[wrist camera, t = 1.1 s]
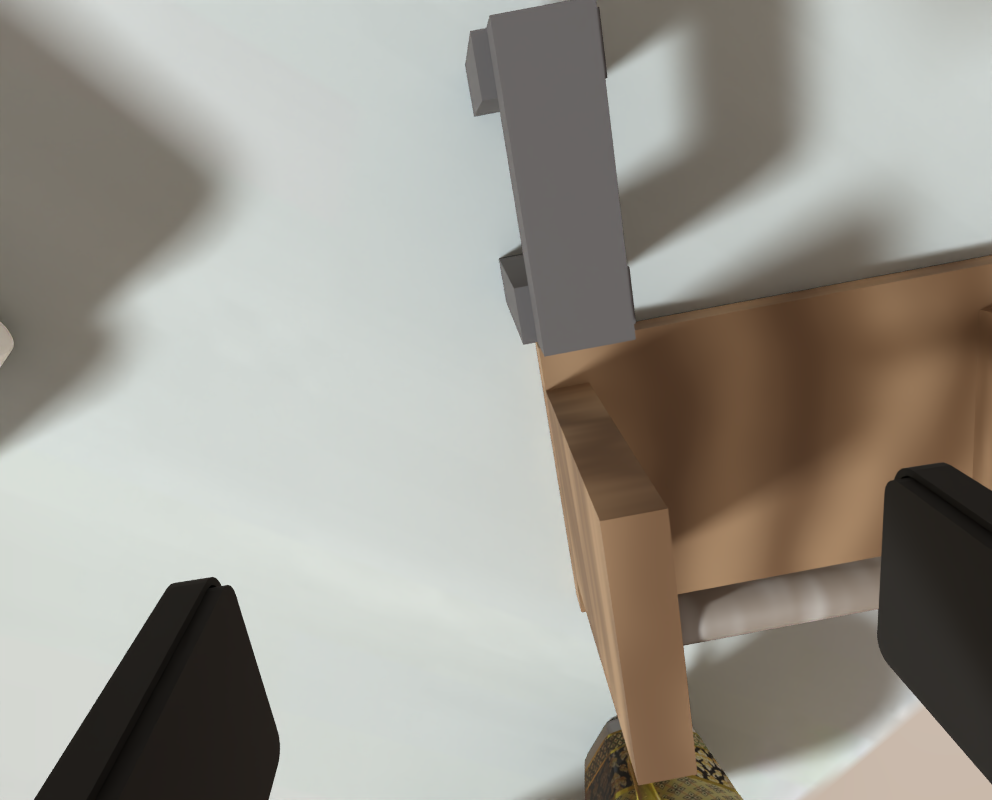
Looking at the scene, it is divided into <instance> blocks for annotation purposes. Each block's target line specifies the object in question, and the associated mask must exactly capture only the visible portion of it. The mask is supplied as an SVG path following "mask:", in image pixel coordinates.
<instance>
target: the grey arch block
mask: <svg viewBox="0 0 992 800" xmlns="http://www.w3.org/2000/svg"><path fill="white" fill-rule="evenodd" d="M465 67H466V72H467V78H468V84H469V90H470V95H471V101H472V107H473V113H474V116H480V115H485V114H490V113H496V112H500V115H501V121H502V127H503V133H504V139H505V146H506V152H507V158H508V164H509V170H510V176H511V182H512V189H513V195H514V201H515V207H516V213H517V219H518V225H519V232H520V238H521V244H522V250H523V254H521V255H516V256H511V257H505V258H500V259H499V262H500V268H501V274H502V279H503V285H504V291H505V297H506V302H507V305H508V307H509V310H510V312H511V315H512V317H513V320H514V322H515V325H516V327H517V330H518V332H519V335H520V337H521V340H522V342H523V345H524V344H530V343H535V342H538V344H539V346H540V348H541V350H542V352H543V354H544V357H546V356H551V355H556V354H562V353H567V352H572V351H578V350H583V349H588V348H594V347H599V346H604V345H610V344H615V343H620V342H626V341H631V340H636V337H635V328H634V324H636V320H635V312H634V303H633V295H632V286H631V277H630V269H629V266H627V260H626V251H625V243H624V234H623V226H622V217H621V209H620V200H619V192H618V183H617V174H616V166H615V157H614V149H613V140H612V132H611V123H610V115H609V106H608V98H607V89H606V80H605V79H606V78H607V71H606V62H605V53H604V45H603V36H602V27H601V19H600V10H599V7H597V3H596V0H570V1H564V2H559V3H554V4H548V5H543V6H538V7H532V8H527V9H521V10H516V11H511V12H505V13H500V14H495V15H490V16H489V20H488V24H487V28H485V29H479V30H474V31H470V36H469V43H468V50H467V56H466V63H465Z"/></svg>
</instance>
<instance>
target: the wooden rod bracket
mask: <svg viewBox="0 0 992 800" xmlns="http://www.w3.org/2000/svg"><path fill="white" fill-rule="evenodd" d="M634 328H635V337H636V340H631V341H626V342H620V343H615V344H610V345H604V346H599V347H594V348H588V349H583V350H578V351H572V352H567V353H562V354H556V355H551V356H546V357H544V354H543V352H542V350H541V348H540V346H539V344H538V342H535V343H536V350H537V356H538V362H539V368H540V374H541V380H542V386H543V392H544V398H545V404H546V411H547V417H548V423H549V429H550V435H551V441H552V447H553V453H554V459H555V466H556V472H557V478H558V484H559V490H560V496H561V502H562V508H563V514H564V520H565V527H566V533H567V539H568V545H569V551H570V557H571V563H572V569H573V575H574V582H575V588H576V594H577V598H578V601H579V605H580V608H581V612H586V613H587V616H588V620H589V623H590V626H591V630H592V633H593V636H594V640H595V643H596V646H597V650H598V653H599V656H600V660H601V663H602V666H603V670H604V673H605V676H606V679H607V683H608V686H609V689H610V693H611V696H612V699H613V703H614V706H615V709H616V713H617V716H618V719H619V723H620V726H621V729H622V733H623V736H624V739H625V743H626V746H627V749H628V753H629V756H630V759H631V763H632V766H633V769H634V773H635V776H636V779H637V783H638V785H643V784H649V783H654V782H659V781H665V780H670V779H675V778H681V777H686V776H691V775H697V765H696V756H695V747H694V738H693V729H692V720H691V711H690V702H689V693H688V684H687V675H686V666H685V657H684V648H683V646H684V645H689V644H694V643H700V642H705V641H710V640H716V639H721V638H726V637H732V636H737V635H742V634H748V633H753V632H758V631H764V630H769V629H774V628H780V627H785V626H790V625H796V624H801V623H806V622H812V621H817V620H822V619H828V618H833V617H838V616H844V615H849V614H854V613H860V612H865V611H870V610H876V609H879V590H880V570H881V551H882V531H883V511H884V492H885V487H886V485H887V483H888V482H889V481H891V480H894V478H895V476H896V474H897V472H898V471H899V470H900V469H902V468H908V467H914V466H921V465H927V464H933V463H942V462H944V463H947V464H949V465H951V466H953V467H954V468H956V469H958V470H959V471H961V472H963V473H964V474H966V475H967V476H969V477H971V478H972V479H974V480H975V481H977V482H979V483H980V484H982V485H983V486H985V487H987V488H988V489H990V490H991V491H992V255H989V256H984V257H979V258H973V259H968V260H963V261H957V262H952V263H946V264H941V265H936V266H930V267H925V268H920V269H914V270H909V271H904V272H898V273H893V274H888V275H882V276H877V277H872V278H866V279H861V280H856V281H850V282H845V283H840V284H834V285H829V286H824V287H818V288H813V289H808V290H802V291H797V292H792V293H786V294H781V295H776V296H770V297H765V298H760V299H754V300H749V301H744V302H738V303H733V304H727V305H722V306H717V307H711V308H706V309H701V310H695V311H690V312H685V313H679V314H674V315H669V316H663V317H658V318H653V319H647V320H642V321H637V322H636V324H634Z"/></svg>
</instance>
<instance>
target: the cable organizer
mask: <svg viewBox="0 0 992 800" xmlns="http://www.w3.org/2000/svg"><path fill="white" fill-rule="evenodd" d="M13 348H14V341H13V338H12V336H11V334H10V332H9V331H8V330H7V328H6V327H5V326H4V325H3V324H2V323H1V322H0V367H1V365H2V364H3V362H4V361H5V360H6V358H7V357H8V355H9V354H10V352H11V351H12V349H13Z"/></svg>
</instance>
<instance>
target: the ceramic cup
mask: <svg viewBox="0 0 992 800" xmlns="http://www.w3.org/2000/svg"><path fill="white" fill-rule="evenodd" d="M692 729H693V727H692ZM693 738H694V747H695V756H696V765H697V775H691V776H686V777H681V778H675V779H670V780H665V781H659V782H654V783H649V784H643V785H638V783H637V779H636V776H635V773H634V769H633V766H632V763H631V759H630V756H629V753H628V749H627V746H626V743H625V739H624V736H623V733H622V729H621V726H620V723H619V719H618V718H617V719H614V720H611V721H608V722H607V723H606V724H605V726H604V728H603V729H602V731H601V733H600V734H599V736H598V738H597V739H596V741H595V743H594V744H593V746H592V748H591V749H590V751H589V753H588V754H587V757H586V759H585V800H743V799H742V797H741V796H740V795H739V794H738V792H737V791H736V789H735V788H734V786H733V785H732V783H731V782H730V780H729V779H728V777H727V776H726V774H725V773H724V772H723V770H722V769H721V767H720V766H719V764H718V763H717V762H716V760H715V759H714V757H713V756H712V754H711V753H710V752H709V750H708V749H707V747H706V746H705V744H704V743H703V741H702V740H701V738H700V737H699V735H698V734H697V733H696V731H695V730H694V729H693Z"/></svg>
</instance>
